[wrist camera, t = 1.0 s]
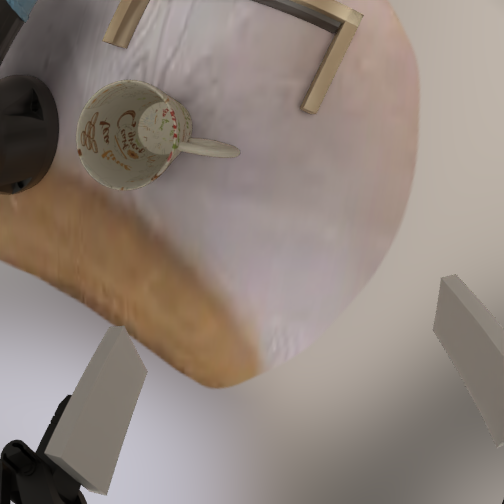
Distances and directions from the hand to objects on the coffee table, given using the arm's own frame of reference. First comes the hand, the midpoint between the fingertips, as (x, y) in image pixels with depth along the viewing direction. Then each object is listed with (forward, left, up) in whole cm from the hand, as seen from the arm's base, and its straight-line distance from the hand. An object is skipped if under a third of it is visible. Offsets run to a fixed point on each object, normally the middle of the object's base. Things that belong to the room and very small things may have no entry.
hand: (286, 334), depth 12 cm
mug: (-11, +2, -22) cm, 25 cm away
